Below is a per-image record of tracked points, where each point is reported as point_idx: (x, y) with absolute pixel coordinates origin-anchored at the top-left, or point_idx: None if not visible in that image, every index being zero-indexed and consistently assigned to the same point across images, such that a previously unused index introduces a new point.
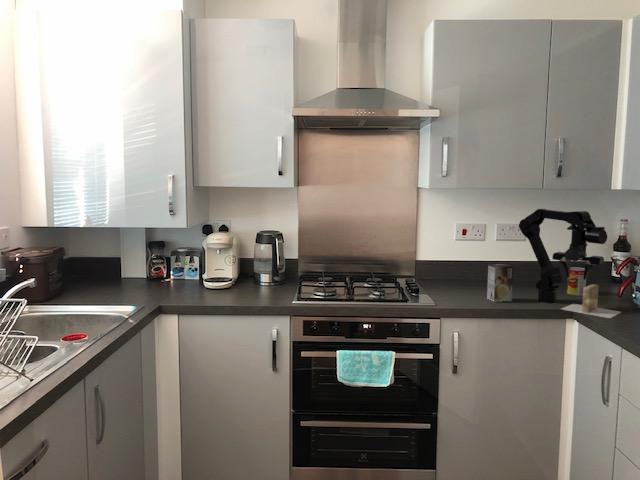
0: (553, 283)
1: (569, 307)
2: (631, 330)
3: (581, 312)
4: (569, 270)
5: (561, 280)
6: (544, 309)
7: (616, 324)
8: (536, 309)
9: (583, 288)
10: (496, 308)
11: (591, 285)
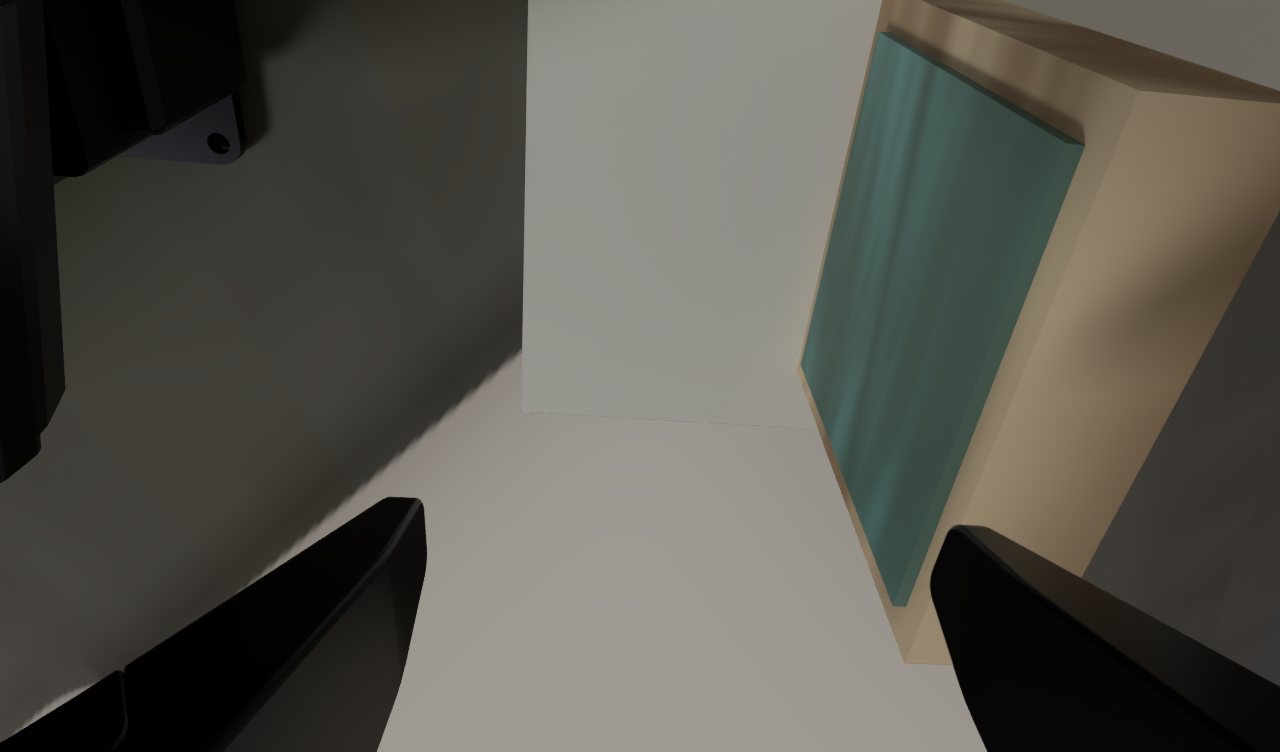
0: (63, 378)
1: (585, 240)
2: (1275, 650)
3: (799, 408)
4: (327, 727)
5: (10, 35)
6: (355, 470)
7: (1172, 560)
8: (292, 526)
9: (901, 649)
10: (10, 719)
11: (1088, 321)
